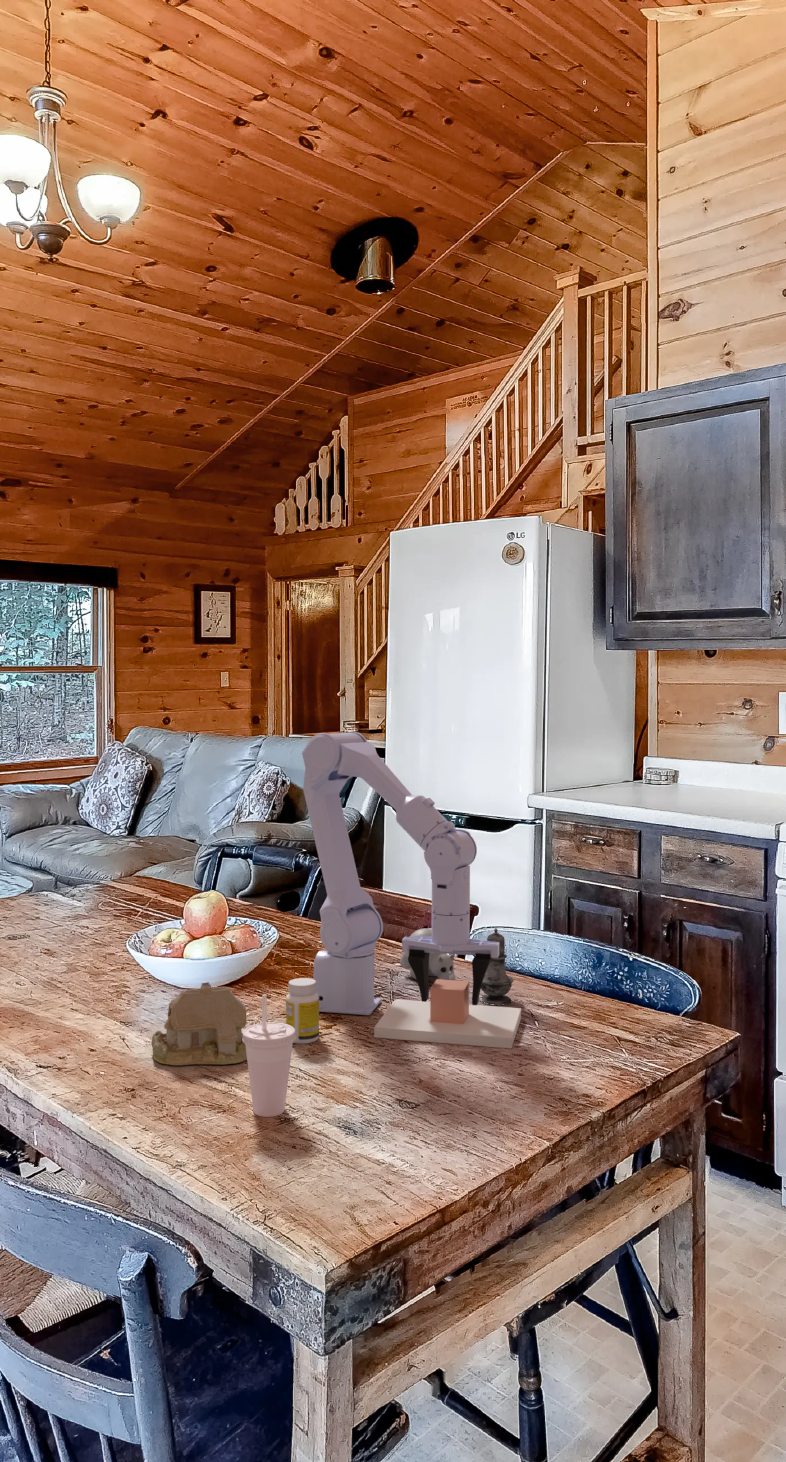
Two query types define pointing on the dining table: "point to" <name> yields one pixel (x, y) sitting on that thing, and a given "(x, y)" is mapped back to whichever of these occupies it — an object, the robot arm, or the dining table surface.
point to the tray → (450, 1025)
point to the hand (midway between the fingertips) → (450, 1001)
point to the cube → (449, 1001)
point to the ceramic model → (202, 1028)
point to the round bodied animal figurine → (432, 960)
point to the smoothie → (268, 1063)
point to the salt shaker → (497, 976)
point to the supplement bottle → (303, 1010)
